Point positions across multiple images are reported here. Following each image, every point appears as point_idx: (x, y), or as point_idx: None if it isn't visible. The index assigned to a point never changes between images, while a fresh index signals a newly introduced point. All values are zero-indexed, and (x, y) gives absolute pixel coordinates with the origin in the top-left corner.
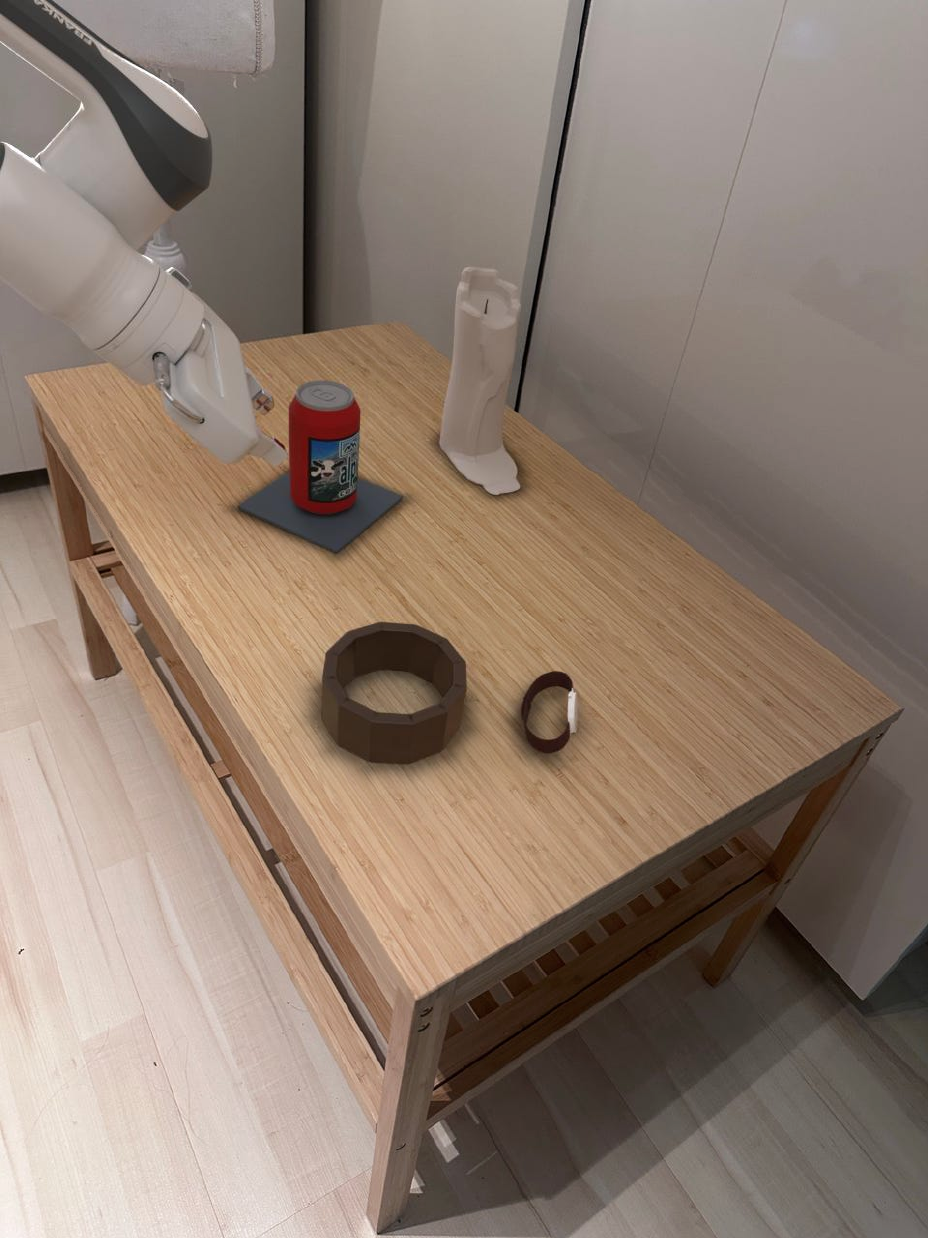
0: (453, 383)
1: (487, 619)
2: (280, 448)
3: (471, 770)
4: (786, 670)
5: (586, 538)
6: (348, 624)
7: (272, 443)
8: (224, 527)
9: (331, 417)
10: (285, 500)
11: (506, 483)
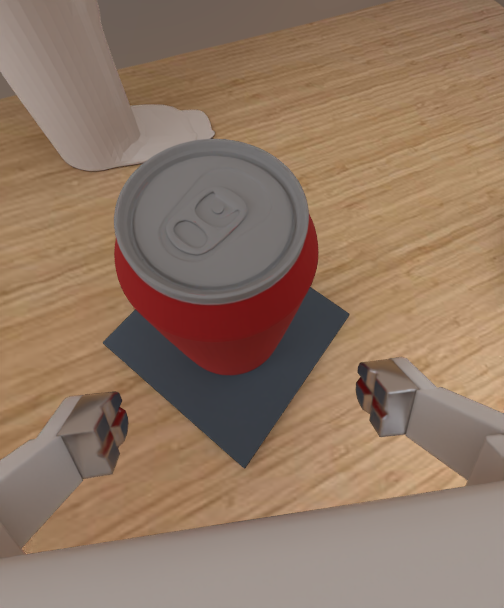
0: (40, 50)
1: (436, 178)
2: (420, 372)
3: None
4: (446, 13)
5: (292, 79)
6: (481, 310)
7: (456, 394)
8: (297, 488)
9: (309, 217)
10: (228, 384)
11: (192, 120)
